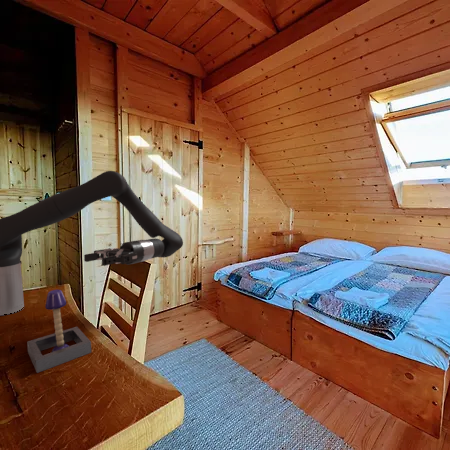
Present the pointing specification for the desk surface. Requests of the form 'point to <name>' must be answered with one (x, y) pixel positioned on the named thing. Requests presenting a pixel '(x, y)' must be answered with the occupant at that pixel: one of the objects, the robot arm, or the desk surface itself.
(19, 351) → the desk surface
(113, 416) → the desk surface
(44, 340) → the square frame
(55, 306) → the toy lamp
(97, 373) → the desk surface
